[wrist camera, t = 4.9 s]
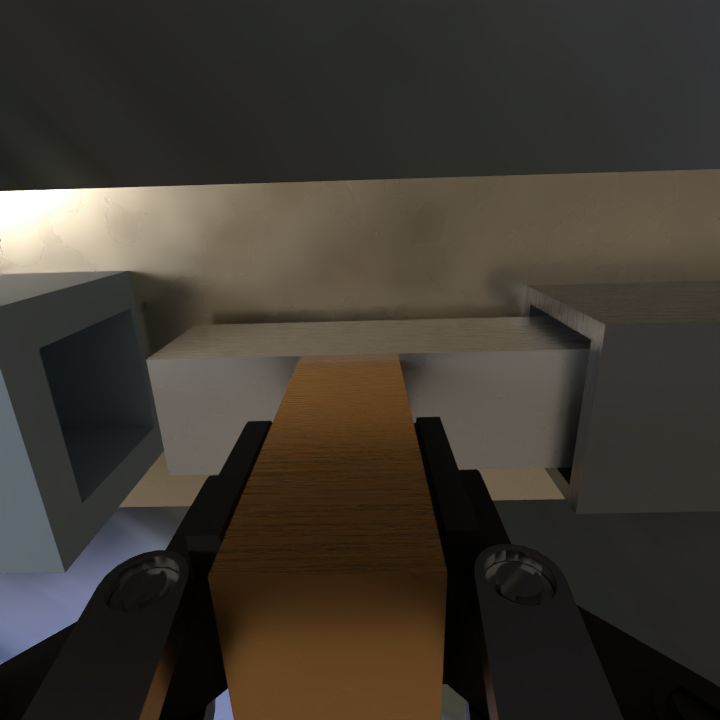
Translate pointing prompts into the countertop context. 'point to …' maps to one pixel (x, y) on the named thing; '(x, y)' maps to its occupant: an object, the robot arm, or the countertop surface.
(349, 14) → the countertop surface
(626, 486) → the stand
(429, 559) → the sliding bar with handle
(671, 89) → the countertop surface
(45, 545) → the socket block
